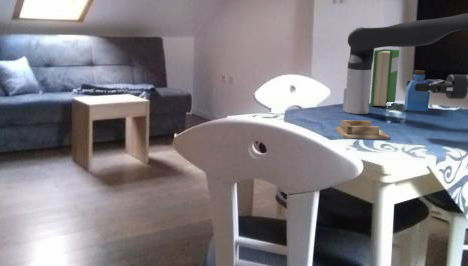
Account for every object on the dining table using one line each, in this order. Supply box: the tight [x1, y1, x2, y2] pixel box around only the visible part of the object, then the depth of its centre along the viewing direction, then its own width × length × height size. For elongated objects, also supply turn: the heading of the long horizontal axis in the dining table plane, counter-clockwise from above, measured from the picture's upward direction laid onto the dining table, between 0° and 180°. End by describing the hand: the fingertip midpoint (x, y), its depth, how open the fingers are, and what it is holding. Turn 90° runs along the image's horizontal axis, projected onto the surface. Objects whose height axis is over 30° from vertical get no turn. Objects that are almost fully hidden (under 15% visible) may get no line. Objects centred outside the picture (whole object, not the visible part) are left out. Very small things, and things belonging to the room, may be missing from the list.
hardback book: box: [369, 48, 400, 108], centre depth 221 cm, size 18×7×24 cm, turn 153°
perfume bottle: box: [403, 69, 431, 112], centre depth 157 cm, size 6×6×12 cm
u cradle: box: [334, 119, 390, 140], centre depth 160 cm, size 14×14×3 cm
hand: (411, 85), depth 157 cm, fingers closed on perfume bottle, 7 cm apart
